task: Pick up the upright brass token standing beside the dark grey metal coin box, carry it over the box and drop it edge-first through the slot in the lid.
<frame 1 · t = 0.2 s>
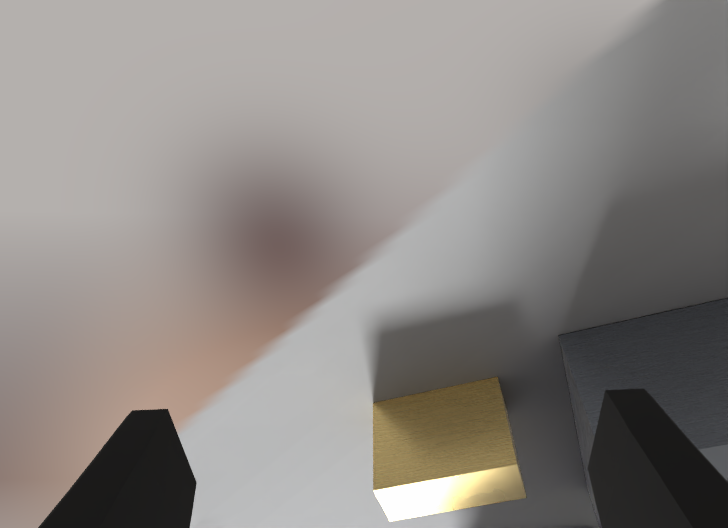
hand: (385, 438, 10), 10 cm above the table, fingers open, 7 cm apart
brass token: (440, 405, 25), on the table
coin box: (704, 396, 24), on the table
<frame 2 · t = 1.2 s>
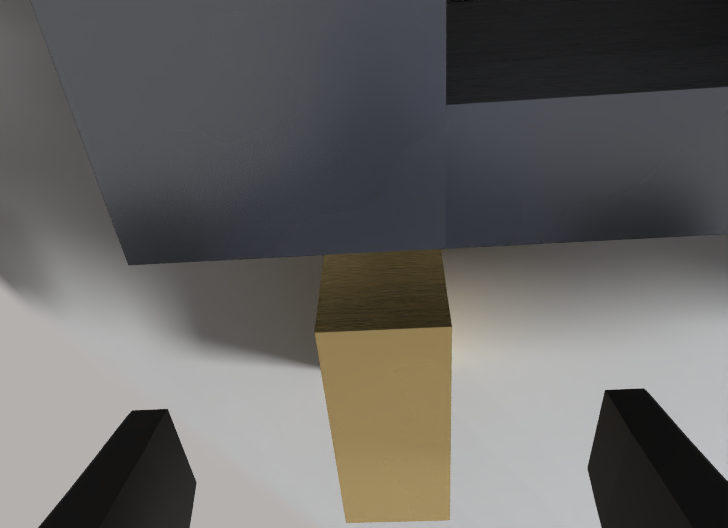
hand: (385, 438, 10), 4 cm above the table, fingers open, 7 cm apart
brass token: (388, 291, 14), on the table
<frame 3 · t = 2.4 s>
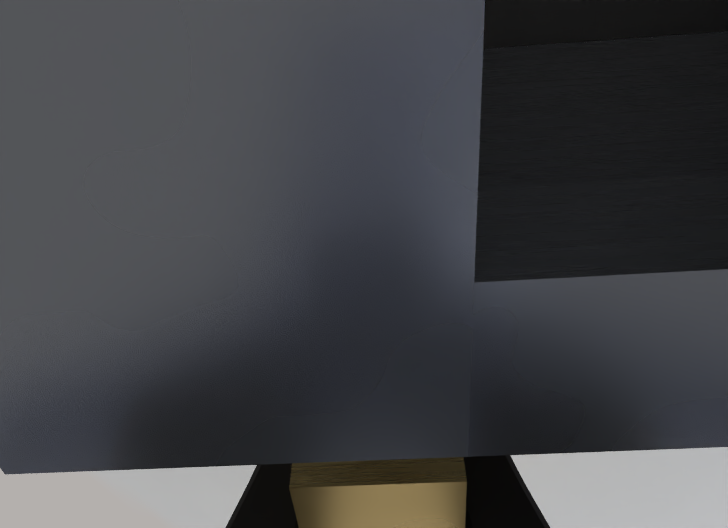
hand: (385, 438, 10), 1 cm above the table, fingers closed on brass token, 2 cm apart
brass token: (383, 377, 12), on the table, touching gripper
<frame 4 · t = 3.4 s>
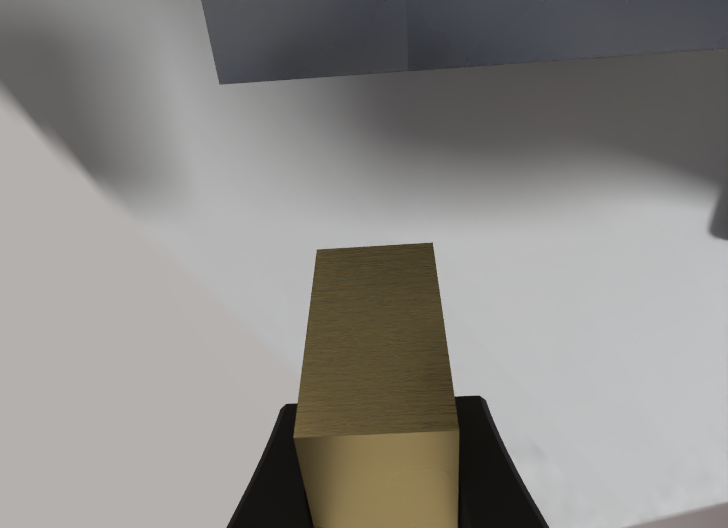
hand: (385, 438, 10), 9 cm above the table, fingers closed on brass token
brass token: (383, 351, 12), point 7 cm above the table, touching gripper
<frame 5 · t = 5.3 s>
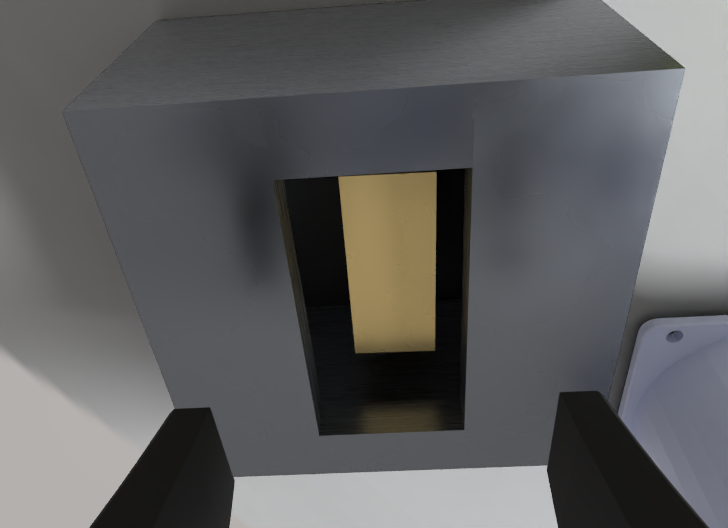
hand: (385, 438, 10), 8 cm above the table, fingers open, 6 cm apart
brass token: (388, 186, 17), resting in coin box
coin box: (380, 192, 17), on the table
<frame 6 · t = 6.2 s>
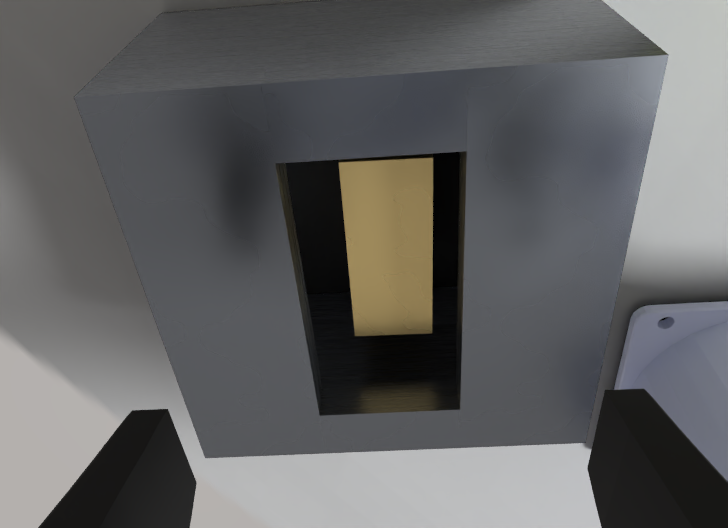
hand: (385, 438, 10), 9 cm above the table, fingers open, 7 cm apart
brass token: (386, 175, 18), resting in coin box
coin box: (378, 181, 18), on the table
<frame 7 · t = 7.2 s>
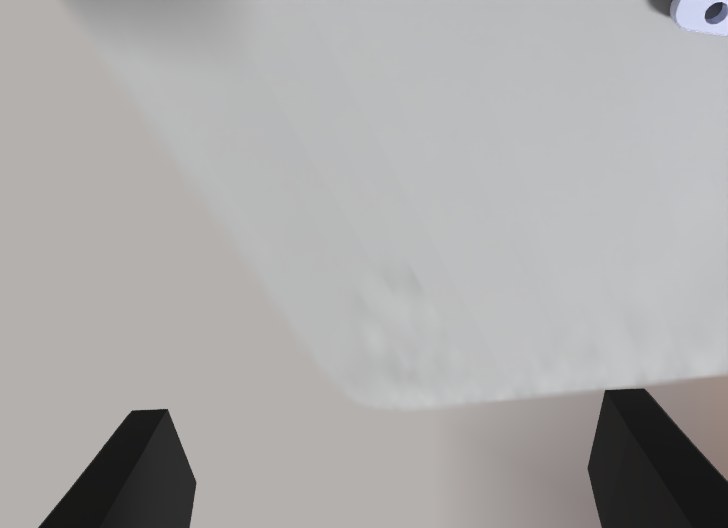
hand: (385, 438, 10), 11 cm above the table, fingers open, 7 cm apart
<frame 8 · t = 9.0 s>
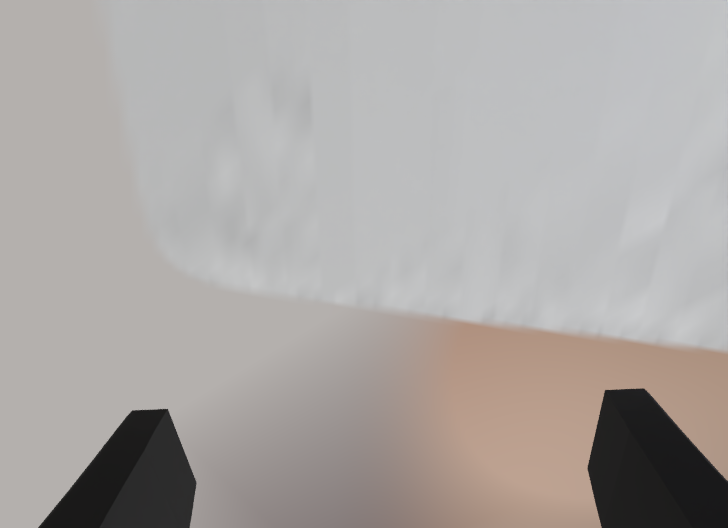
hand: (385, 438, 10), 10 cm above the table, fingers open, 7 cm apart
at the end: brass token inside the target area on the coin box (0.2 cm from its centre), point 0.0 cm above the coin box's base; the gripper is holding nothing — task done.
